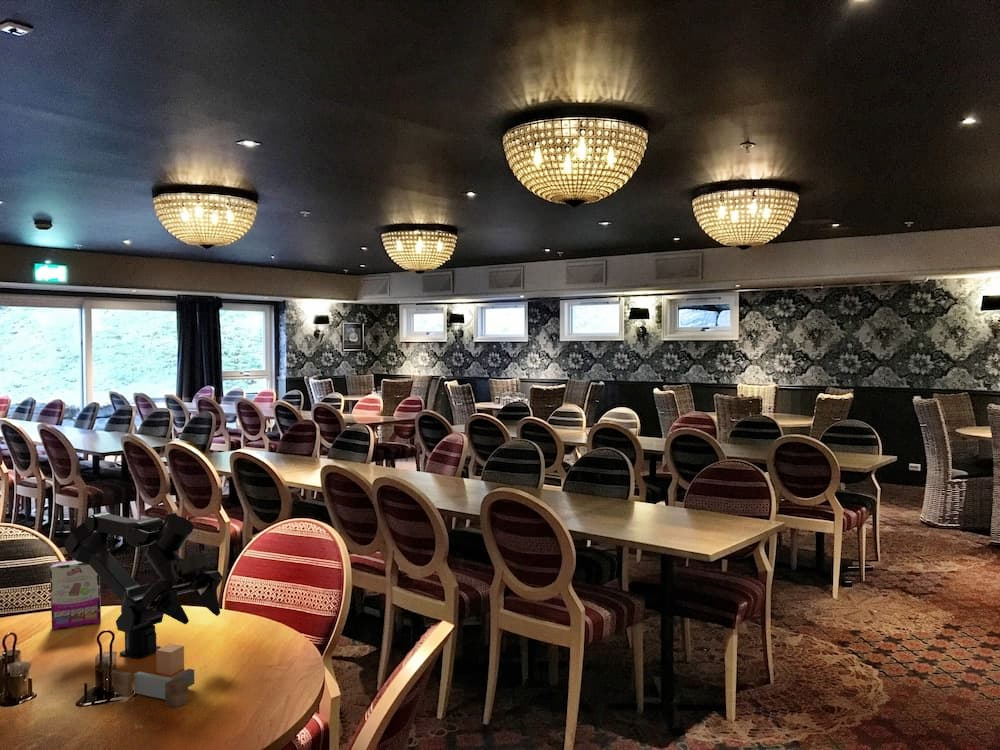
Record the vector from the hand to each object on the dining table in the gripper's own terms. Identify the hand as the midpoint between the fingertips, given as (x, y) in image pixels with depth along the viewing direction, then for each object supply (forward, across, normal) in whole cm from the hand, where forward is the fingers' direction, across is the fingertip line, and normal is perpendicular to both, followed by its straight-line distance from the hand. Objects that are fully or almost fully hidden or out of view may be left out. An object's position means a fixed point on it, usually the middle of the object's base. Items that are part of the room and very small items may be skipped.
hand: (203, 618), depth 170 cm
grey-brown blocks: (+7, -12, +12) cm, 18 cm away
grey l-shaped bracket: (+8, -9, +10) cm, 16 cm away
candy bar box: (-32, +11, +43) cm, 55 cm away
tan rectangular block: (+2, 0, +14) cm, 15 cm away
